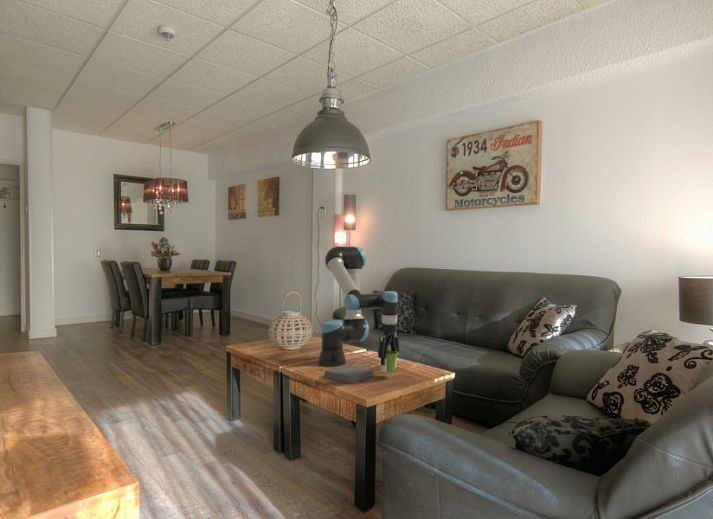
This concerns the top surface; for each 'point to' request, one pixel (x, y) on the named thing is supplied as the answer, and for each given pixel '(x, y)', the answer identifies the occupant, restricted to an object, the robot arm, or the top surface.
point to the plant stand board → (349, 373)
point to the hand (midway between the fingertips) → (388, 369)
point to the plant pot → (391, 360)
